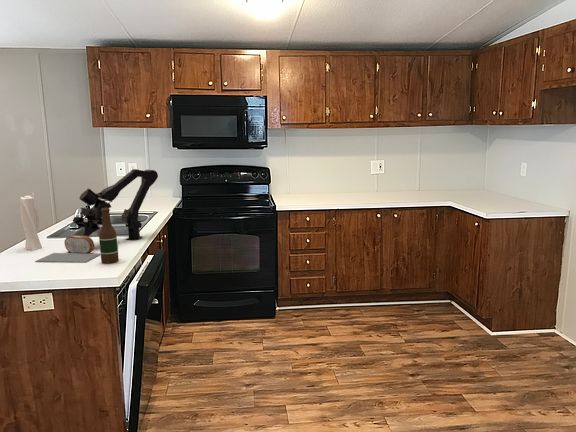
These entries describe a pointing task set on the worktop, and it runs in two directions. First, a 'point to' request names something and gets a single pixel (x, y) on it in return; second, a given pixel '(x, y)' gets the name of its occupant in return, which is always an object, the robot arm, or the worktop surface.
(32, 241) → the skyscraper
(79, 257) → the slate mat
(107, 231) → the beer bottle
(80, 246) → the tin
